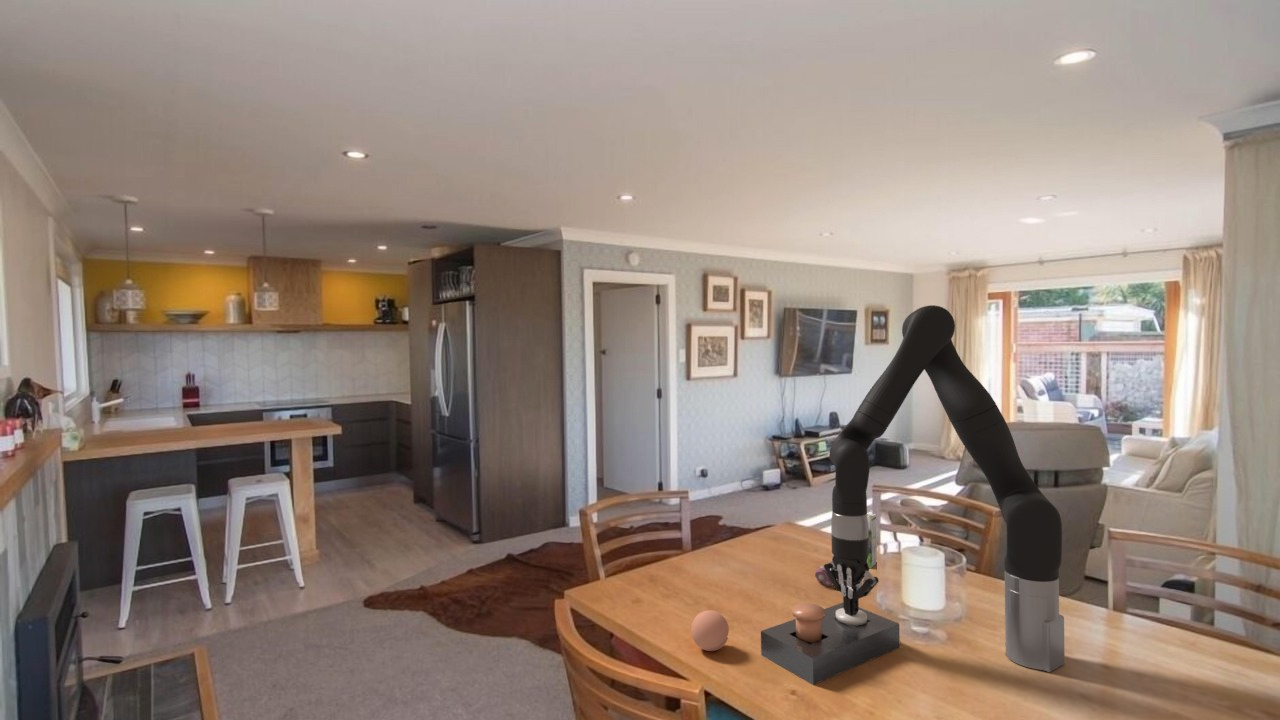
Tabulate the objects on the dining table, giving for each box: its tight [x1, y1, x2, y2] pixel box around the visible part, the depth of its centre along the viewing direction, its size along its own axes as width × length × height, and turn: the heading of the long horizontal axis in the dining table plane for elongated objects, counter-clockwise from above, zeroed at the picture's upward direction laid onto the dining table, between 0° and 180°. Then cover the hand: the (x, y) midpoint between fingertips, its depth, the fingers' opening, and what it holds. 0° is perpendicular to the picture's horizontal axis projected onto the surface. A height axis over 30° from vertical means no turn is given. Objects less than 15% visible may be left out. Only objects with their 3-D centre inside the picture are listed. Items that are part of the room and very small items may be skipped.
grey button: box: [836, 608, 867, 628], centre depth 134 cm, size 6×6×6 cm
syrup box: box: [867, 513, 878, 569], centre depth 182 cm, size 6×6×14 cm
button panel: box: [760, 602, 901, 686], centre depth 130 cm, size 14×26×5 cm, turn 122°
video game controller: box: [814, 565, 839, 587], centre depth 165 cm, size 10×5×7 cm, turn 62°
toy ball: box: [690, 609, 730, 652], centre depth 132 cm, size 8×8×8 cm
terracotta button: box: [791, 602, 825, 643], centre depth 127 cm, size 6×6×6 cm
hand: (850, 613), depth 134 cm, fingers closed
